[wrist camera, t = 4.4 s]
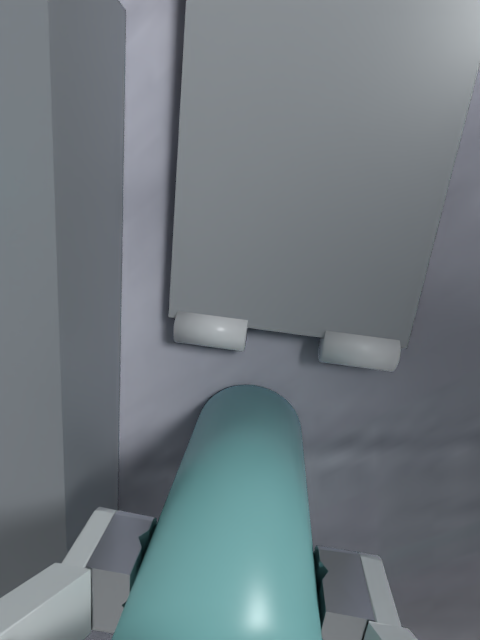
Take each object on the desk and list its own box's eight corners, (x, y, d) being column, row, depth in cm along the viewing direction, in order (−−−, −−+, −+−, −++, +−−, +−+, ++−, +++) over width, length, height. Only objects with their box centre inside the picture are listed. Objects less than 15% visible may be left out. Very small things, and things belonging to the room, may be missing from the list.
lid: (508, -99, 9) (540, -142, 8) (393, 364, 13) (404, 379, 12) (200, -117, 10) (190, -161, 9) (173, 334, 14) (163, 345, 12)
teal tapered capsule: (309, 393, 13) (348, 631, 6) (292, 483, 15) (307, 779, 7) (201, 377, 14) (104, 585, 6) (194, 467, 15) (104, 735, 7)
